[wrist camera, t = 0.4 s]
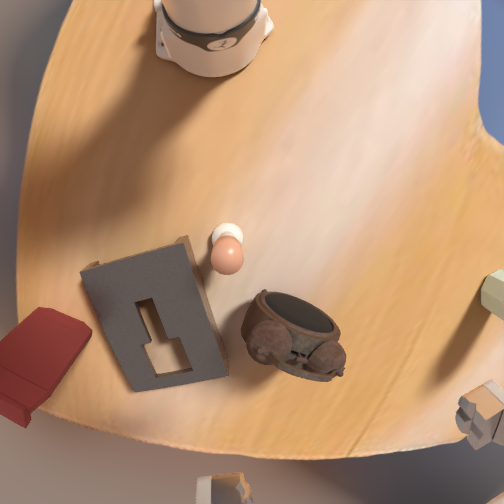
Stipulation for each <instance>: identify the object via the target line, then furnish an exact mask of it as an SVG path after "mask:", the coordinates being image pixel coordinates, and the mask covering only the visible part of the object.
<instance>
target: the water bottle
mask: <svg viewBox="0 0 504 504" xmlns="http://www.w3.org/2000/svg"><path fill="white" fill-rule="evenodd" d="M481 305H482V306H484V307H485V308H486V309H487V310H489V311H490V312H492V313H493V314H495V315H496V316H498V317H499V318H501V319H502V320H504V270H501V269H500V270H497V271H495V272H493V273H491V274H490V275H488V276H487V277H486V279H485V281H484V283H483V285H482V287H481Z"/></svg>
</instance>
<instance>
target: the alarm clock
mask: <svg viewBox="0 0 504 504" xmlns="http://www.w3.org/2000/svg"><path fill="white" fill-rule="evenodd" d="M241 334H242V336H243V339H244V340H245V342H246V343H247V349H248V352H249V354H250V356H251V357H252V358H253V359H254V360H255V361H257V362H258V363H261V364H264V365H273V364H274V365H275V366H276V367H277V368H279V369H280V370H282V371H284V372H286V373H289V374H291V375H294V376H297V377H301V378H305V379H309V380H313V381H320V382H329V381H331V380H332V378H334V377H335V376H340V377H342V376H343V371H344V369H345V368H343V367H344V365H345V362H346V353H345V351H344V349H343V348H342V346H341V345H340V344H339V343H338V340H339V337H340V330H339V328H338V326H337V325H336V323H335V322H334V321H333V320H332V319H331V318H330V317H329V316H328V315H327V314H326V313H324V312H323V311H322V310H320V309H319V308H317V307H315V306H313V305H312V304H310V303H308V302H306V301H304V300H301V299H299V298H297V297H294V296H291V295H288V294H284V293H280V292H267V290H265V289H264V290H263V292H261V293H259V294H257V295H256V297H255V298H254V300H253V302H252V304H251V305H250V307H249V309H248V311H247V313H246V316H245V319H244V322H243V325H242V328H241Z"/></svg>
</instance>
